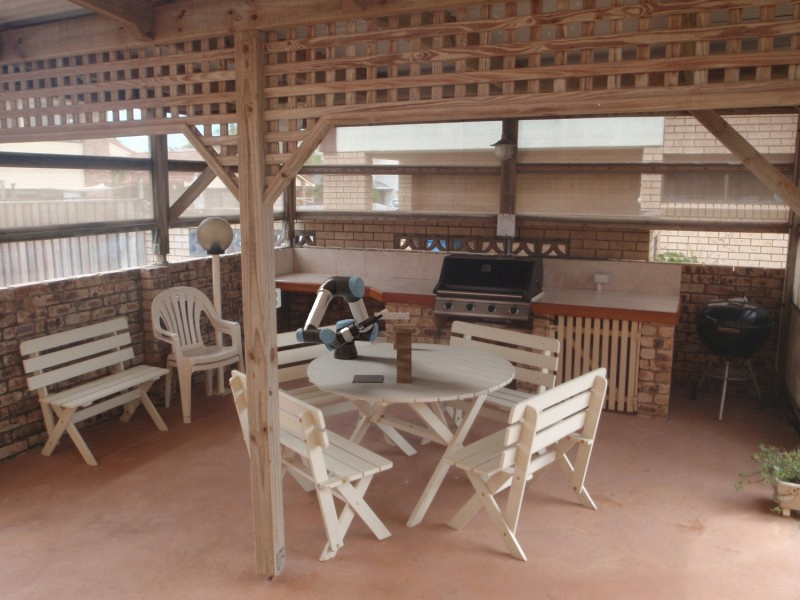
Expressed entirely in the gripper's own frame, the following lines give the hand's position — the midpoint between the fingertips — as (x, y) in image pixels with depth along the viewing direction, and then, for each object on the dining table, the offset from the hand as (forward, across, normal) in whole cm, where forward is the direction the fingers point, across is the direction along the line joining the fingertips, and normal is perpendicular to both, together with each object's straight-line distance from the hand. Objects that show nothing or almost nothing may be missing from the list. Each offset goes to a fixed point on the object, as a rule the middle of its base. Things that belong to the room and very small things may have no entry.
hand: (387, 311), depth 375 cm
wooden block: (-13, -74, -37) cm, 84 cm away
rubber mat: (-29, 0, -28) cm, 40 cm away
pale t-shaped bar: (0, 0, -5) cm, 5 cm away
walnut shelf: (-12, 0, -38) cm, 39 cm away
